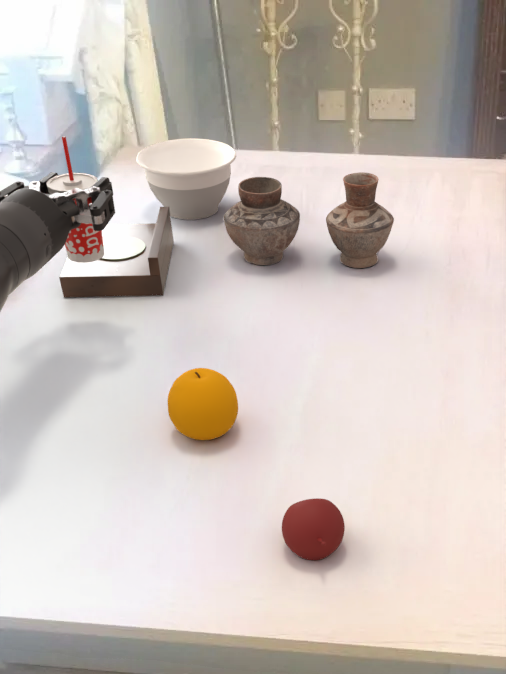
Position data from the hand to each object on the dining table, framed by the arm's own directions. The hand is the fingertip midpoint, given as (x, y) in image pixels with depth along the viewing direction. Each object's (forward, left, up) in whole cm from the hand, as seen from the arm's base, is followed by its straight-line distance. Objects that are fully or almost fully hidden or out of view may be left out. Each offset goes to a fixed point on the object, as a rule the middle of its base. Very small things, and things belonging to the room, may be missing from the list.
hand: (81, 183), depth 110 cm
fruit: (+27, -50, -18) cm, 60 cm away
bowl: (+9, +37, -18) cm, 42 cm away
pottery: (+28, +17, -18) cm, 37 cm away
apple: (+15, -28, -18) cm, 37 cm away
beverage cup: (-1, -2, -8) cm, 9 cm away
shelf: (0, +15, -18) cm, 23 cm away
